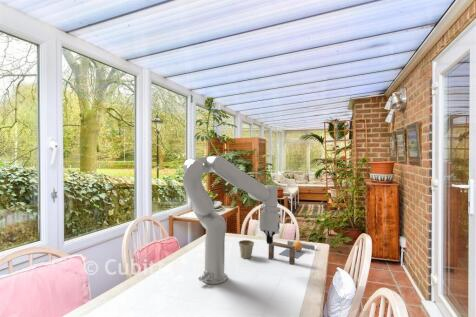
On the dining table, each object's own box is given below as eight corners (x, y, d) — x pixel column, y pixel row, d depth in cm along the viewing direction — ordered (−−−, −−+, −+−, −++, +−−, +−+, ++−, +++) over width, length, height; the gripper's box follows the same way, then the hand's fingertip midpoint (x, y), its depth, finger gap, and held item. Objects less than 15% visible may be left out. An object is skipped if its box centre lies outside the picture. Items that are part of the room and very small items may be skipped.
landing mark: (297, 258, 166) (297, 258, 166) (278, 254, 172) (278, 254, 172) (304, 252, 176) (304, 252, 176) (286, 249, 182) (286, 248, 182)
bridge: (292, 264, 156) (292, 247, 156) (268, 259, 164) (268, 242, 164) (294, 263, 158) (294, 246, 158) (270, 257, 167) (271, 241, 167)
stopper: (313, 250, 180) (313, 246, 180) (287, 245, 190) (287, 241, 190) (314, 249, 182) (314, 245, 182) (288, 244, 192) (288, 240, 192)
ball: (299, 250, 174) (301, 241, 176) (290, 248, 177) (292, 239, 179) (302, 253, 178) (304, 243, 180) (293, 251, 182) (295, 241, 184)
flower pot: (254, 254, 172) (254, 240, 172) (253, 260, 162) (253, 245, 162) (239, 253, 173) (239, 239, 172) (237, 259, 163) (237, 244, 163)
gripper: (254, 208, 149) (253, 242, 150) (279, 211, 141) (279, 247, 141) (261, 206, 156) (260, 239, 156) (286, 209, 147) (285, 244, 148)
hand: (269, 243), depth 149 cm, fingers closed
